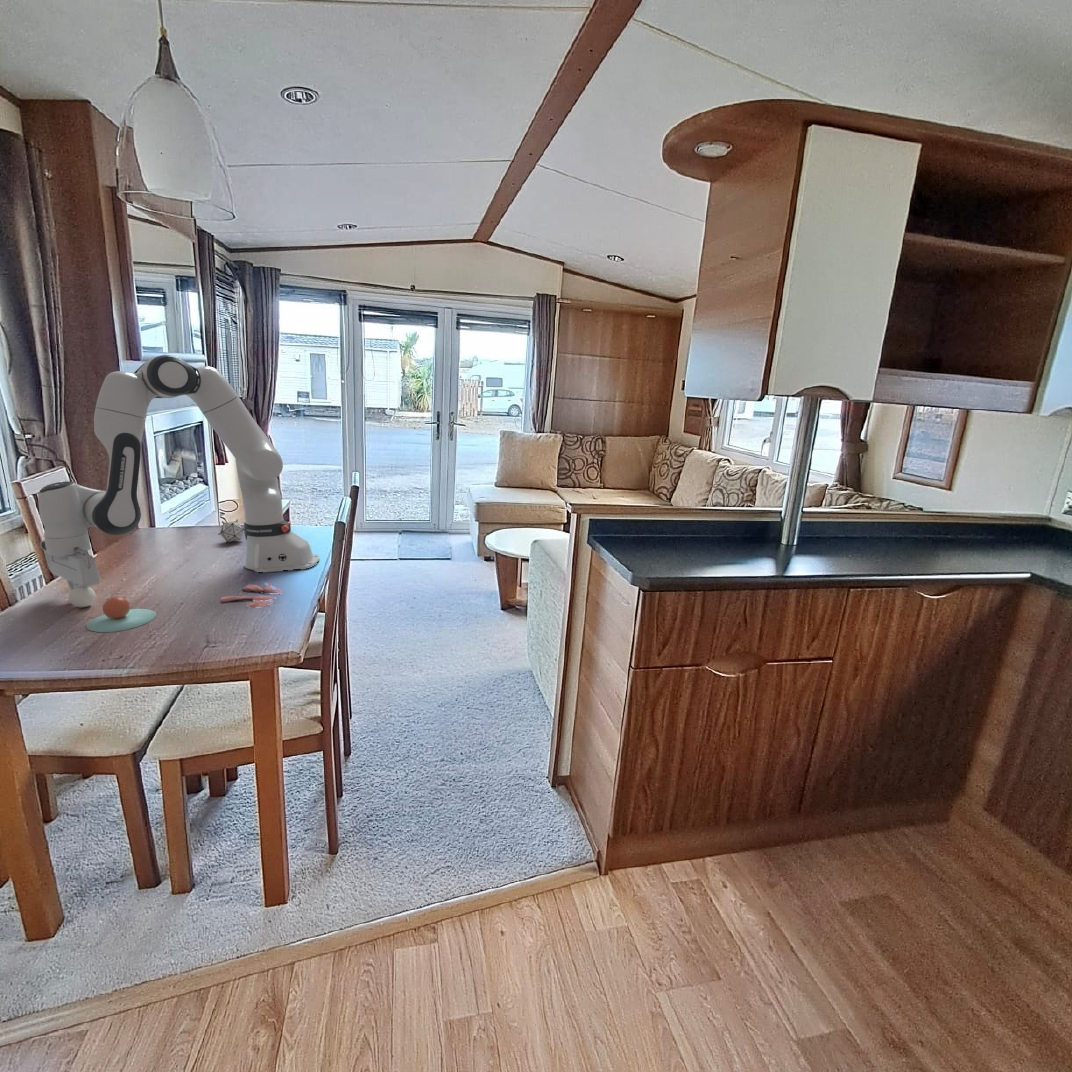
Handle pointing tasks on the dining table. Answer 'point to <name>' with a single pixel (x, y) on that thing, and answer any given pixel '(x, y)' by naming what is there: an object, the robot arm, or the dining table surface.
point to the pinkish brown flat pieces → (257, 599)
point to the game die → (231, 531)
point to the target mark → (121, 621)
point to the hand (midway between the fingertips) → (78, 595)
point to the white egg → (82, 596)
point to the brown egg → (116, 607)
